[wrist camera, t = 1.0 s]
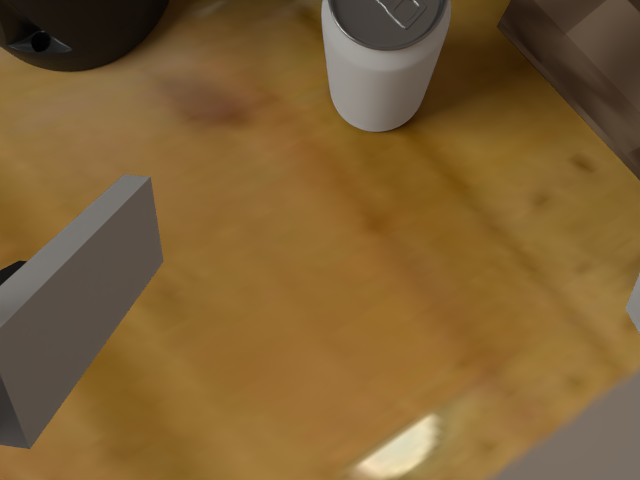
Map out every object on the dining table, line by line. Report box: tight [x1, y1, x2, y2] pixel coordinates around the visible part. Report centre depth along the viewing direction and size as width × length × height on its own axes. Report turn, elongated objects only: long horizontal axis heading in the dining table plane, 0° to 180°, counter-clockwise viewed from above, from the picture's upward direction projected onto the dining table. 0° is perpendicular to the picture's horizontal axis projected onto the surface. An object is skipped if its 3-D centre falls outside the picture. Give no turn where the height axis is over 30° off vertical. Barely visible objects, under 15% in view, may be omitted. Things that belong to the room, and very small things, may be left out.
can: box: [321, 0, 451, 132], centre depth 31 cm, size 6×6×12 cm
